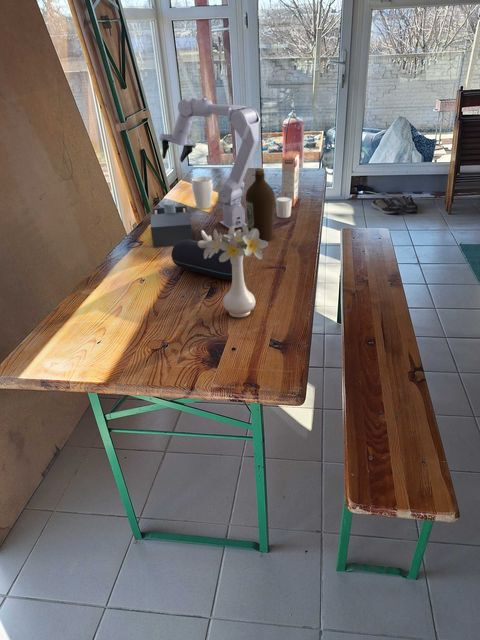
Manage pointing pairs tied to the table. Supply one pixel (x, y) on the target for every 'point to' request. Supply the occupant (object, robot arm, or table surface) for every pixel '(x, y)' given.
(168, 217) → the cabinet
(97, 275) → the table surface
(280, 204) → the shot glass
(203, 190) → the cup
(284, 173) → the cracker box
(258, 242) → the flower vase
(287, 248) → the table surface
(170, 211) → the jug
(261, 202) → the olive oil
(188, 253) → the portable speaker
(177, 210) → the drawer
